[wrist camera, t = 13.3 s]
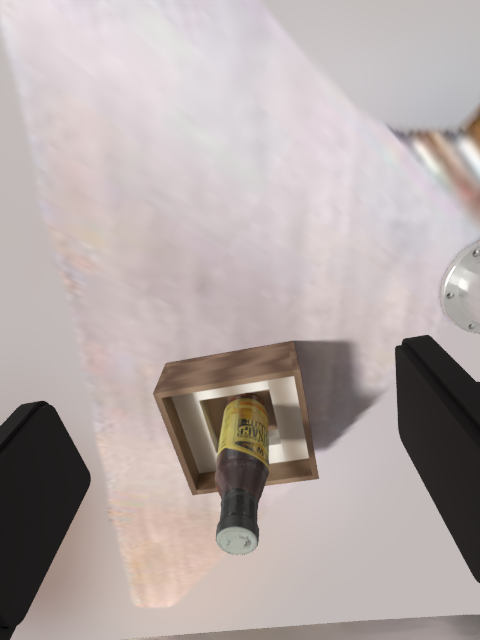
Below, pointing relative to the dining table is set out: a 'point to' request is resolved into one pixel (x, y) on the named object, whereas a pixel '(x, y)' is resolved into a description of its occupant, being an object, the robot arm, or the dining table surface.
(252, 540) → the sauce bottle
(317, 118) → the dining table surface
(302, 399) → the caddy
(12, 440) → the robot arm
